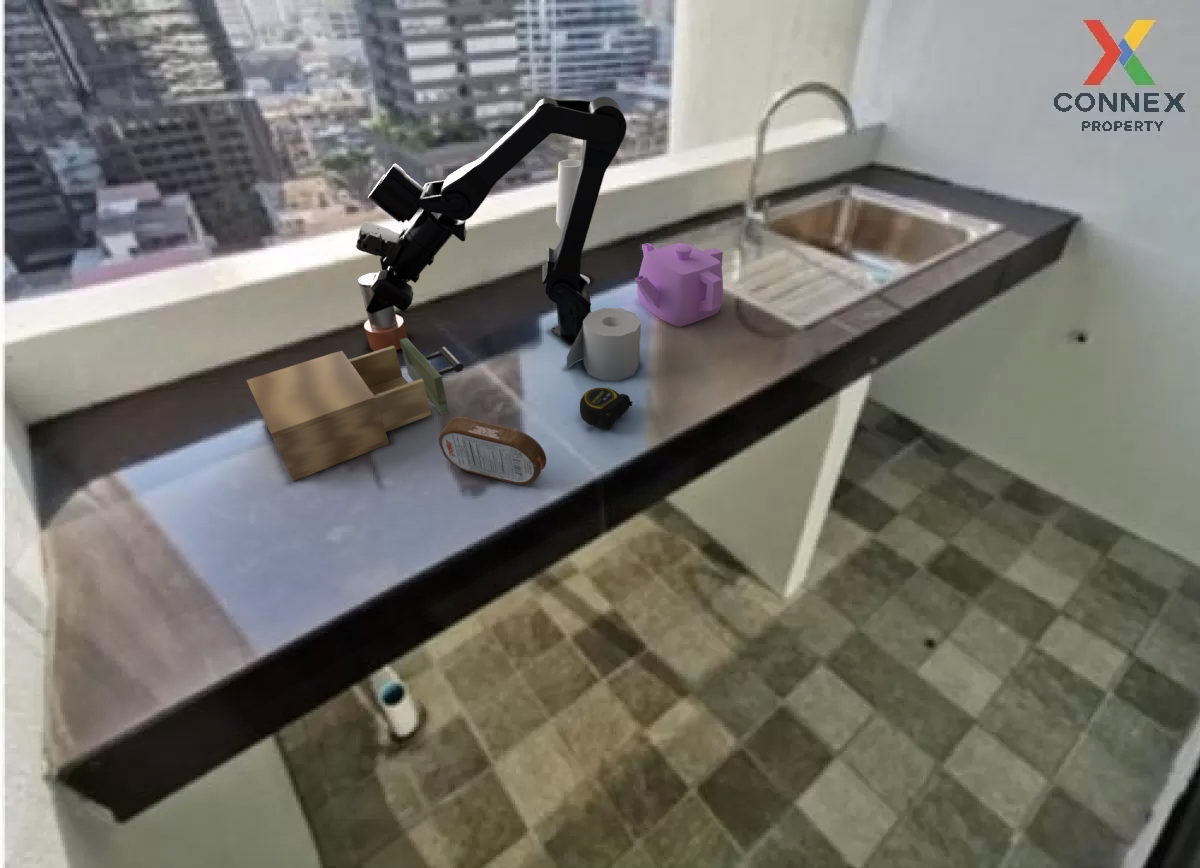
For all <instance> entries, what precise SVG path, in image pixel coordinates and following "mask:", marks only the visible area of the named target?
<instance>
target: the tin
mask: <svg viewBox="0 0 1200 868" xmlns="http://www.w3.org/2000/svg"><path fill="white" fill-rule="evenodd" d="M438 444H439V448H440V450H441V451H442V454H443V456H444V457H445V458H446V459H447V460H448V461H449V462H450V463H451V464H452V465H454V466H455V467H456V468H458V469H460V470H462V471H465V472H468V473H472V474H475V475H478V476H481V477H482V476H483V477H486V478H490V479H493V480H497V481H502V482H505V483H509V484H512V485H517V486H526V485H530V484H532V483H533V482H535V481H536V480H537V479H538V478H539V476H540V475H541V473H542V471H543V470H544V469H545V468H546V465H547V455H546V452H545V450H544V449H543V447H542V445H540V443H539V442H538V441H537V440H536V439H534V438H533V437H532V436H530V435H529V434H527V433H525V432H523V431H521V430H519V429H514V428H512V427H511V428H510V427H507V426H502V425H499V424H493V423H488V422H486V421H482V420H477V419H473V418H469V417H465V416H459V417H457V416H456V417H454V418H452V419H450V420H449V421H447V423H446V425H445V427H444V428H443V429H442V430H441V432H440V434H439V436H438Z"/></svg>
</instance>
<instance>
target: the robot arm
mask: <svg viewBox="0 0 1200 868" xmlns="http://www.w3.org/2000/svg"><path fill="white" fill-rule="evenodd" d="M623 113H624V112H623V111H622V108H621V106H620V104H619V103H618V102H617V100H615V99H613V98H612V97H609V96H600V97H596V98H595V99H593V100H583V99H556V98H552V97H544V98H543V97H542V99H540V100H539V101H538V102H537V103H536V104H535V106H534V108H532V109H531V110H530V111H529V112H528V113H527V114H526V115H525V116H524V117H523V118H522V119H521V120H520V121H519V122H517V123H516V124H515V125H514V126H513V127H512V128H511V129H510V130H509V131H508V132H507V133H506V134H504V135H503V137H501V138H500V139H499V140H498V141H497V142H496V143H495V144H494V145H493V146H491V147H490V148H489V149H488V150H487V151H486V152H485V153H484V154H483V155H482V156H481V157H479V158H477V159H476V160H474V161H471V162H469V163H466V164H465V165H463V166H462V167H461V166H460V168H458V169H457V170H455V171H453V172H452V173H450V174H449V175H448V176H447V177H446V178H445V179H442V180H441V179H440V180H436V181H429V182H426V183H425V184H424V185H423V186H422V185H420V184H419V183H418V182H417V181H416V180H414V178H412V177H411V176H410V175H408V174H407V173H406V171H405V170H404V169H403V168H402V167H401V166H400V165H398V164H397V163H394V164H393V165H392V166H391V168H390V169H389V170H388V171H387V172H386V173H384V174H383V175H382V176H381V178H379V180H378V181H377V183H376V184H375V186H374V187H373V189H372V190H371V192H370V193H369V195H368V197H367V199H368V200H370V201H371V202H372V203H374V205H376V206H377V207H379V208H380V209H381V210H382V211H384V212H385V213H386V214H387V215H389V216H390V217H392V218H393V219H394V220H395V221H396V222H398V223H400V222H401V223H402V224H404V223H405V222H410V221H411V220H413V218H414V217H415V215H416V214H417V212H419V210H420V209H422V211H421V212H420V213H419V214H418V215H417V217H416V218H415V219H414V221H413V222H412V224H411V225H410V226H409V227H406V228H402V229H401V231H400V232H395V231H394V230H391V229H390V228H387V227H385V226H382V225H380V224H376V223H373V222H370V221H367V220H366V221H363V222H362V223H361V225H360V228H359V231H358V237H357V240H356V245H355V248H356V249H357V250H358V251H360V252H363V253H366V254H370V255H373V256H376V257H380V258H379V262H380V266H381V270H379V271H378V272H377V273H378V274H377V275H376V274H375V275H374V278H373V282H372V285H371V290H372V291H373V292H374V294H373V296H372V298H371V300H370V302H369V304H368V306H367V308H365V310H366V313H367V312H369V313H370V314H373V313H375V312H378V311H381V310H383V309H386V308H389V307H391V306H394V308H396V309H398V310H399V311H401V312H406V311H407V310H408V308H410V306H411V305H412V303H413V298H414V289H413V286H412V285H410V284H409V282H410V281H411V282H413V283H414V284H416V283H417V282H418V281H419V280H420V276H421V275H420V274H422V272H423V271H424V270H425V268H427V266H431V265H433V263H434V260H435V256H437V254H438V253H439V252H440V251H441V249H443V247H444V245H446V243H447V242H448V241H449V240H450V239H451V237H452V236H454V237H456V238H457V239H458V240H459V241H461V242H465V241H466V239H467V229H466V223H467V220H469V219H470V218H472V217H473V216H474V215H475V213H476V212H477V210H478V209H479V208H480V207H481V205H482V204H483V203H484V201H485V200H486V198H487V196H488V195H489V194H490V192H491V191H492V189H493V188H494V186H495V185H496V184H497V183H498V182H499V181H500V180H501V179H502V178H503V177H504V176H505V175H506V174H507V173H509V172H510V171H511V170H512V169H513V168H514V167H515V166H517V164H519V163H520V162H521V161H522V160H523V159H524V158H526V156H527V155H529V154H530V153H531V152H532V151H533V150H534V149H535V148H536V147H538V145H540V144H541V143H542V142H543V141H544V140H545V139H547V138H548V137H549V136H550V135H552V134H557V135H562V136H566V137H570V138H574V139H577V140H581V141H582V148H581V149H582V150H581V151H582V152H581V160H580V161H581V165H580V168H579V172H578V176H577V180H576V184H575V187H574V191H573V195H572V199H571V203H570V207H569V210H568V214H567V218H566V222H565V226H564V230H563V232H562V233H561V236H560V237H561V238H560V240H559V243H558V244H557V246H556V248H554V249H553V248H551V247H547V249H546V259H545V262H544V263H543V265H542V267H541V269H542V270H541V271H542V272H541V276H542V277H541V279H542V285H544V290H545V295H546V296H547V298H548V299H549V300H550V301H551V302H553V303H555V304H556V314H557V315H556V318H557V325H556V326H553V327H551V328H550V329H551V333H553V334H554V335H555V336H557V337H558V338H560V339H561V341H564V342H565V344H567V345H569V346H572V345H573V344H574V342H575V340H576V338H577V336H578V334H579V332H580V330H581V328H582V326H583V320H584V319H585V318H586V316H587V315H588V314H589V313H590V312H592V310H591V307H592V301H591V294H590V286H589V284H588V282H587V281H586V280H585V279H584V278H583V277H581V276H580V274H581V270H582V269H581V267H582V266H581V265H582V255H583V254H582V253H583V250H584V246H585V243H586V241H587V236H588V233H589V229H590V226H591V222H592V219H593V216H594V212H595V209H596V205H597V201H598V199H599V195H600V191H601V188H602V185H603V180H604V178H605V174H606V171H607V169H608V168H609V166H610V165H611V164H612V162H613V160H614V159H615V157H616V156H617V154H618V152H619V150H620V147H621V145H622V143H623V141H624V139H625V137H626V133H627V129H628V126H627V121H626V118H625V116H624V114H623Z"/></svg>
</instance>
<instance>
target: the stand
mask: <svg viewBox="0 0 1200 868" xmlns="http://www.w3.org/2000/svg"><path fill="white" fill-rule="evenodd" d="M396 319H397V323H396V325H394V326H393V327H391V328H388V329H383V330H378V329H374V328H372V327H371V326H370V322H369V319H367V320H366V321H365V322H364V325H363V328H364V332H365V335H366V339H367V342H368V345H369V349H371V350H372V351H373V352H374V351H378V350H381V349H384V348H387V347H390V346H394V347H395V348H396V351H398V350H400V349H401V350H402V347H401V343H400V340H401V339H404V338H407V339H408V340H409V338H408V333H407V329H406V325H405V320H404V318H403V317H402V316H401V315H398V314H396Z"/></svg>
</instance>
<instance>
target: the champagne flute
mask: <svg viewBox="0 0 1200 868" xmlns="http://www.w3.org/2000/svg"><path fill="white" fill-rule="evenodd" d="M581 161H582V160H580V159H576V158H575V159H573V158H572V159H571V158H570V159H569V158H568V159H563V160H560V161H559V162H558V168H557V190H556V210H555V212H556V213H555V223H556V226H557V227H558V228H559V230H560V231H561V232H562V233H563V230H564V226H565V222H566V218H567V214H568V210H569V207H570V203H571V199H572V195H573V191H574V187H575V184H576V180H577V176H578V172H579V168H580V165H581ZM580 276H581V277H583V278H584V279H585V280H586V281H587V282H588V285H589V284H590V282H591V279H590V278H589V277H588V276H587V275H584V274H582V273H580Z"/></svg>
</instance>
